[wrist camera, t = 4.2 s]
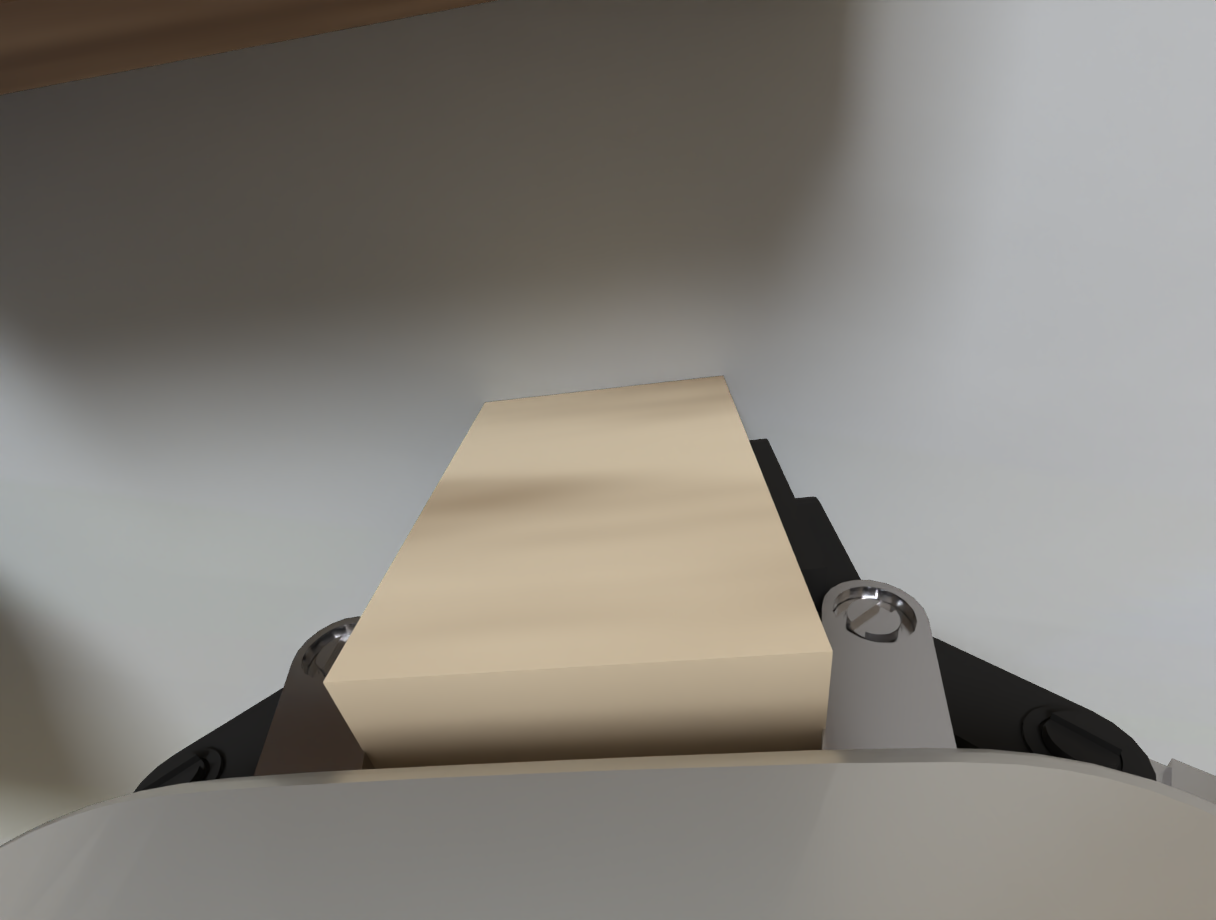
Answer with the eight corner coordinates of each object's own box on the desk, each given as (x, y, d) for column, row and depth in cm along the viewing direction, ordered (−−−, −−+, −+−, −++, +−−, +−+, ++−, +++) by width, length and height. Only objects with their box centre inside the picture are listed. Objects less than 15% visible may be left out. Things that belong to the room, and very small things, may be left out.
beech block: (729, 564, 14) (808, 904, 7) (532, 580, 14) (457, 910, 8) (723, 375, 11) (833, 651, 5) (485, 402, 12) (323, 682, 6)
